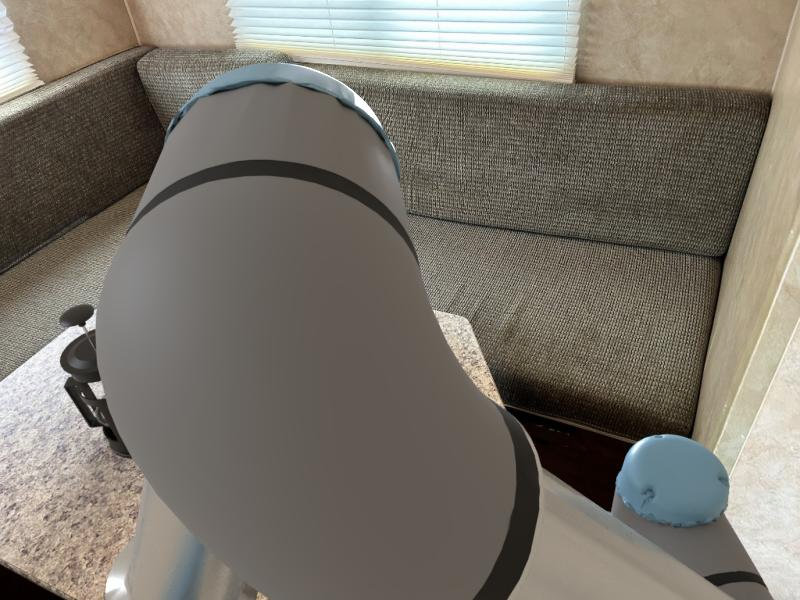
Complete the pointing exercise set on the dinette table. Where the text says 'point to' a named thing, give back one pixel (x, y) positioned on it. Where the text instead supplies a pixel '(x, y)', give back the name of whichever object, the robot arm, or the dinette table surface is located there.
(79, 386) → the french press
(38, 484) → the dinette table surface
